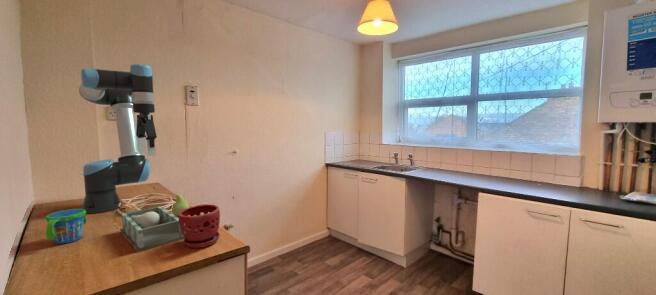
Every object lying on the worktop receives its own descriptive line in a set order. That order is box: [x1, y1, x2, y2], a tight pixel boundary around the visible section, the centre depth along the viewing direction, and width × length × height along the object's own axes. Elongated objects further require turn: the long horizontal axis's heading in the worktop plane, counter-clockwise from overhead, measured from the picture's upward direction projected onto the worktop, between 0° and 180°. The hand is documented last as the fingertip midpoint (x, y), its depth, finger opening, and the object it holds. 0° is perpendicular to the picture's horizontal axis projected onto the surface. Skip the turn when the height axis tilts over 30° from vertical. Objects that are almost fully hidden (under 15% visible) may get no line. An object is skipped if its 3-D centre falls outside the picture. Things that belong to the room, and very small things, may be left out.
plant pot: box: [177, 204, 221, 249], centre depth 101 cm, size 13×13×12 cm
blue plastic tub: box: [44, 208, 88, 245], centre depth 104 cm, size 16×10×10 cm
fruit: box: [169, 190, 190, 217], centre depth 128 cm, size 7×8×12 cm
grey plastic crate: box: [119, 205, 185, 253], centre depth 108 cm, size 25×15×7 cm, turn 46°
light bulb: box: [130, 212, 160, 228], centre depth 112 cm, size 7×7×11 cm
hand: (147, 154), depth 122 cm, fingers open, 13 cm apart
